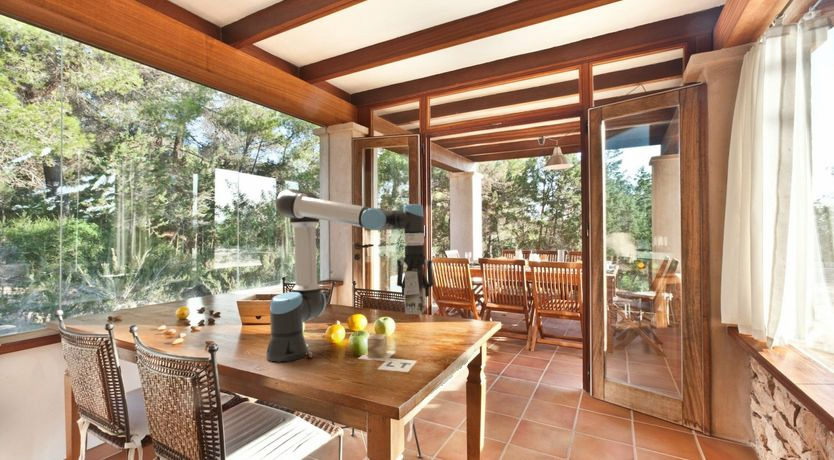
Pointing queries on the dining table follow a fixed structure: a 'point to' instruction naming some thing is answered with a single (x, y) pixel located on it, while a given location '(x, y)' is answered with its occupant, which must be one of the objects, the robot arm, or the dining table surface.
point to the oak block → (377, 345)
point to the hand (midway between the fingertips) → (415, 304)
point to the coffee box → (414, 292)
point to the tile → (397, 365)
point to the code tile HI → (387, 356)
